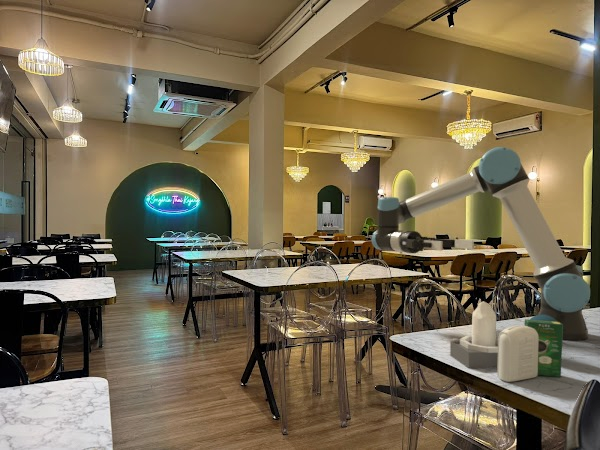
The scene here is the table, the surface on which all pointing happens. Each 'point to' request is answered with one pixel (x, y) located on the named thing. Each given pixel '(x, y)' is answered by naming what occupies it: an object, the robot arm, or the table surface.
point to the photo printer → (517, 353)
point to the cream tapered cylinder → (484, 325)
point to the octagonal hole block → (474, 353)
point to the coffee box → (548, 346)
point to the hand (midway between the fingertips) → (457, 245)
